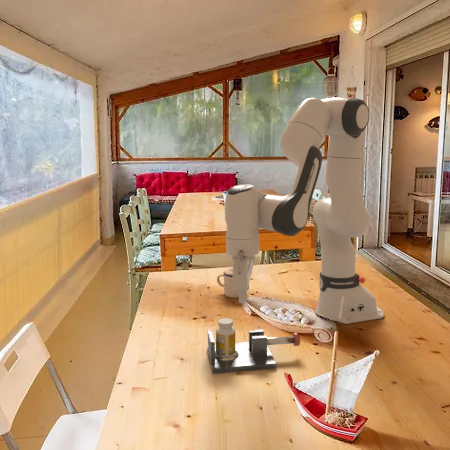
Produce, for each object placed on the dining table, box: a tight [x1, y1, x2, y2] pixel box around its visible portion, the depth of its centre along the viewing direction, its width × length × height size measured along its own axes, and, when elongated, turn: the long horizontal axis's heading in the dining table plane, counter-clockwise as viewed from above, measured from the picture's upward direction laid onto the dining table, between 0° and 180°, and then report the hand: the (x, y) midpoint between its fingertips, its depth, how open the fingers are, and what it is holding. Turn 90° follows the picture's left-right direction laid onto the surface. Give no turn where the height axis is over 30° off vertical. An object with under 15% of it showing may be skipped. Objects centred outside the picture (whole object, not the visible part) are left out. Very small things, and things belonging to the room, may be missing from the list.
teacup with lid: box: [216, 266, 248, 299], centre depth 188 cm, size 12×9×12 cm
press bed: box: [206, 329, 277, 375], centre depth 136 cm, size 17×14×8 cm
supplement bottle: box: [215, 317, 236, 357], centre depth 135 cm, size 5×5×10 cm
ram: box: [267, 332, 301, 347], centre depth 137 cm, size 13×4×4 cm, turn 98°
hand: (244, 295), depth 133 cm, fingers open, 8 cm apart
